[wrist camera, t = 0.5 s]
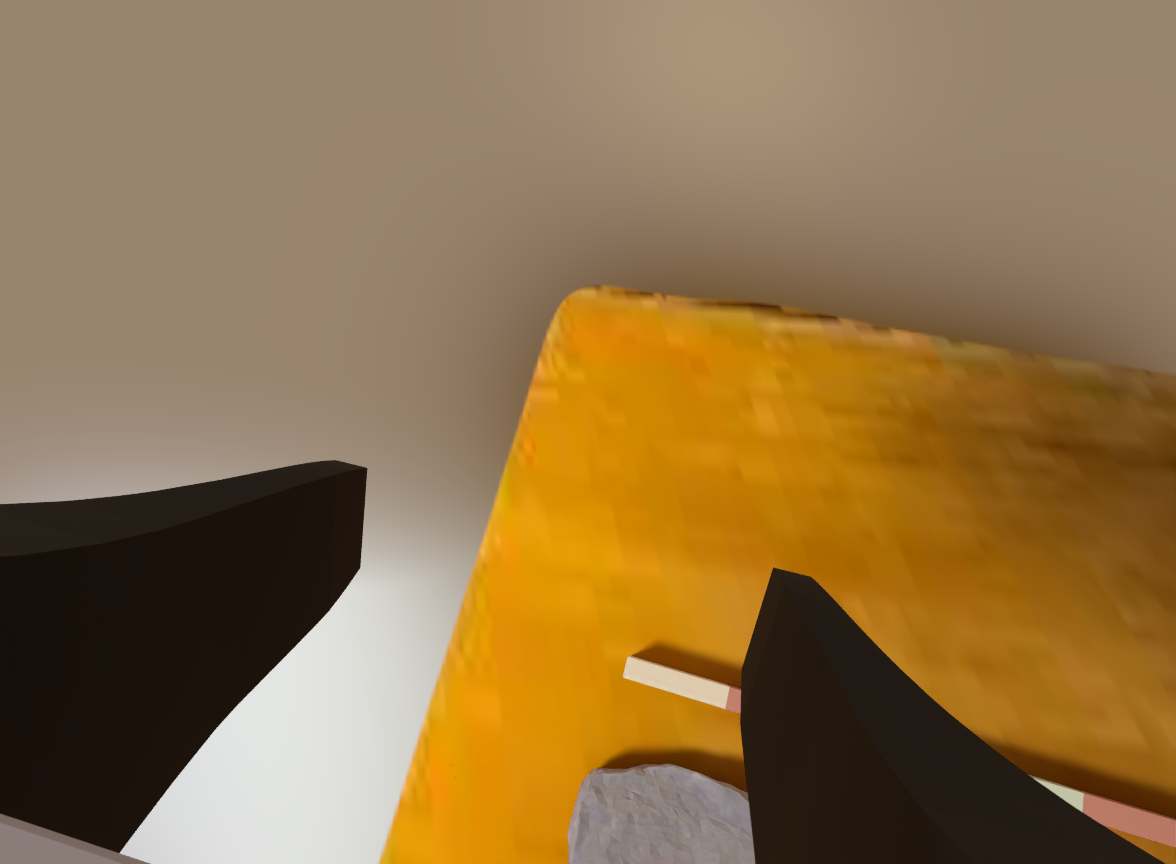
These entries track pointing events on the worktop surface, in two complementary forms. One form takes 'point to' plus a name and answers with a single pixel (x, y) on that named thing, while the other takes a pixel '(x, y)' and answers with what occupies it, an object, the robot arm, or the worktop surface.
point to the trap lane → (1092, 805)
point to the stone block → (659, 818)
